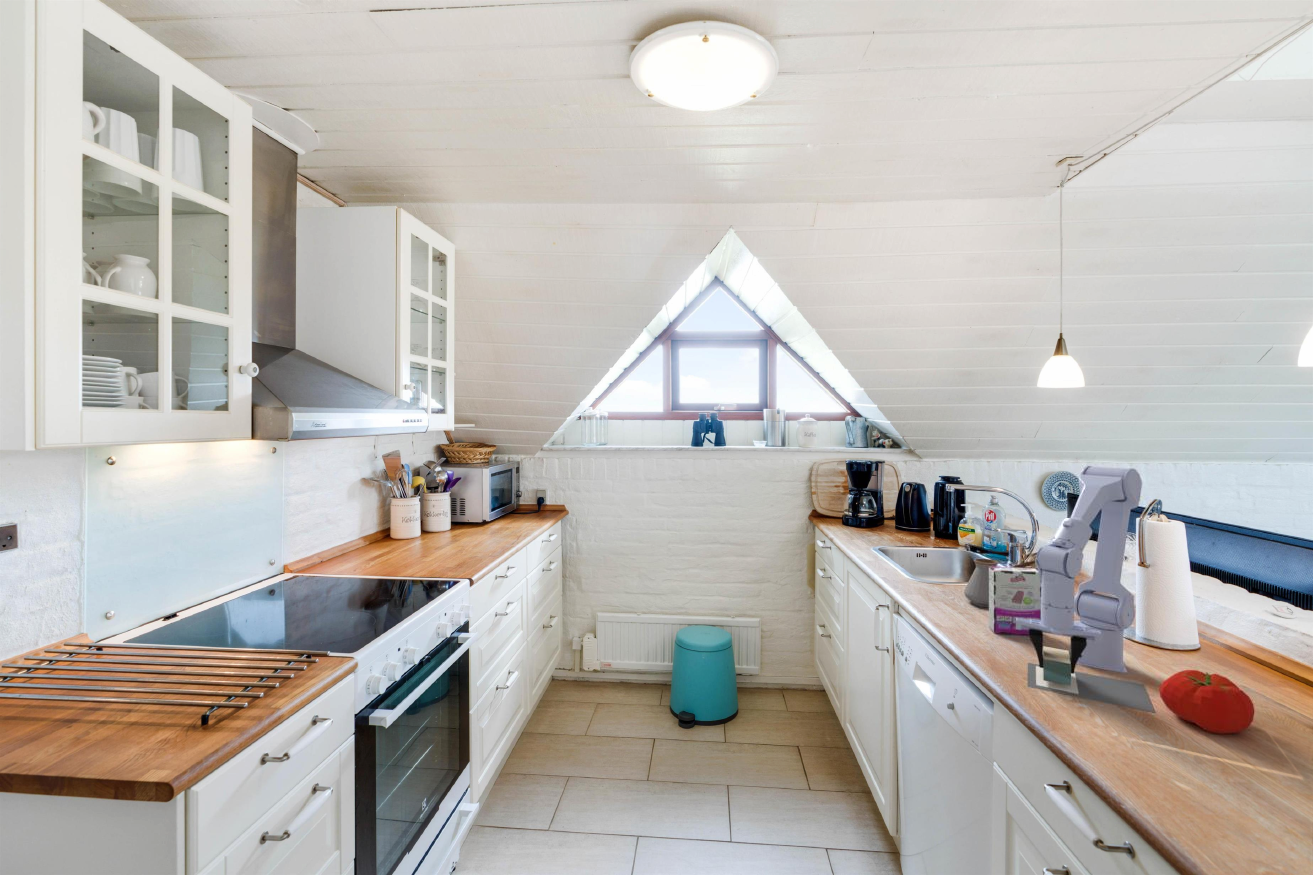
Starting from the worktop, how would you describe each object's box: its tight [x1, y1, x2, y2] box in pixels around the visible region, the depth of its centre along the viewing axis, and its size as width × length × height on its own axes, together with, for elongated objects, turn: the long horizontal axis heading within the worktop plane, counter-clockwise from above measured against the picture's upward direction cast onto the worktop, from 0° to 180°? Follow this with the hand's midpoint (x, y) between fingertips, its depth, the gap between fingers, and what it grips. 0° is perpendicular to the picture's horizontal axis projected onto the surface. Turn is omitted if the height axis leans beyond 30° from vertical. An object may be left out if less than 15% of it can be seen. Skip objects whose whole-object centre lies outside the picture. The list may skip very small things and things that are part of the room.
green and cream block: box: [1043, 645, 1071, 686], centre depth 121 cm, size 9×5×4 cm, turn 147°
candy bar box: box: [988, 566, 1041, 637], centre depth 150 cm, size 11×5×16 cm, turn 76°
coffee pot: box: [963, 558, 1036, 608], centre depth 172 cm, size 21×12×15 cm, turn 68°
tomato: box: [1158, 669, 1256, 735], centre depth 104 cm, size 13×12×8 cm
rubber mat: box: [1026, 662, 1156, 714], centre depth 119 cm, size 20×14×1 cm
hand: (1056, 668), depth 121 cm, fingers closed on green and cream block, 4 cm apart
